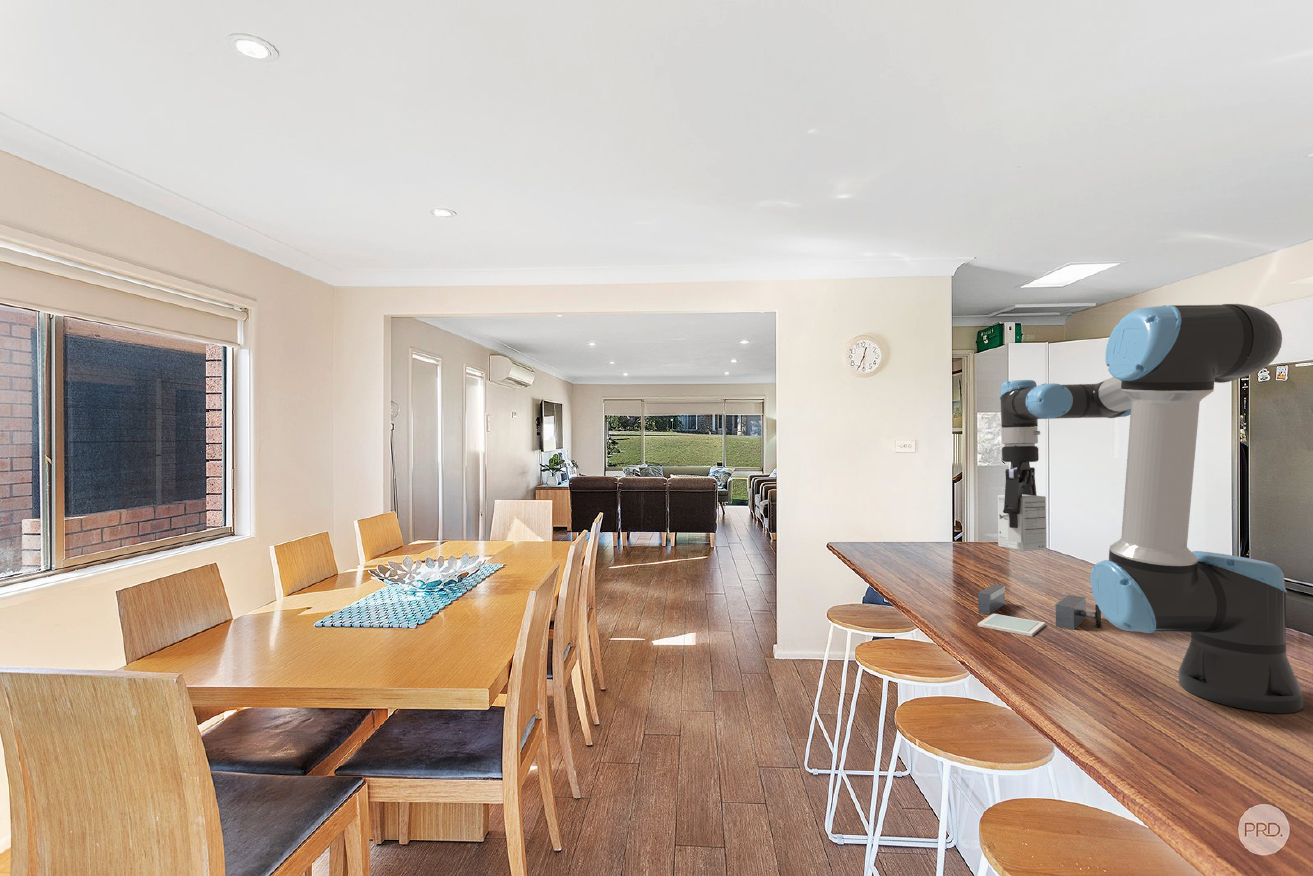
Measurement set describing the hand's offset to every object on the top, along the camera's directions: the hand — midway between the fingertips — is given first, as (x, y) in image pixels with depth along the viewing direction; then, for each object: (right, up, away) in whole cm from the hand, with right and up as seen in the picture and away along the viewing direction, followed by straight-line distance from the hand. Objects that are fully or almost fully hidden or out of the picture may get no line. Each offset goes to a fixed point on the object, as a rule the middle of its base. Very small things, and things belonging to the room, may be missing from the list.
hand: (1022, 539), depth 146 cm
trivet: (-5, -19, -5) cm, 20 cm away
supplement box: (0, -2, 0) cm, 2 cm away
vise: (+5, -19, +1) cm, 20 cm away
